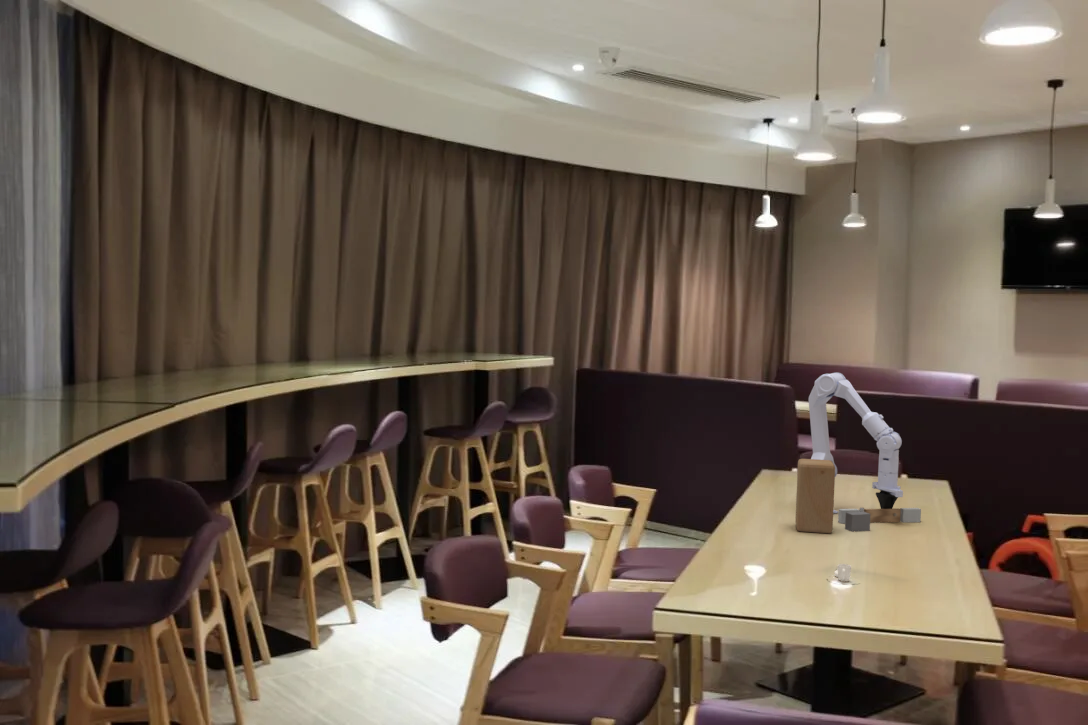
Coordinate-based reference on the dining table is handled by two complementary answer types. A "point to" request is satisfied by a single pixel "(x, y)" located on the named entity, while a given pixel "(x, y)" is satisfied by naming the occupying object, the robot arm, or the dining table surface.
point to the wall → (905, 514)
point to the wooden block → (815, 495)
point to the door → (884, 515)
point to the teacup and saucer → (843, 572)
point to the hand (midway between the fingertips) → (886, 516)
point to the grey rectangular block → (857, 521)
